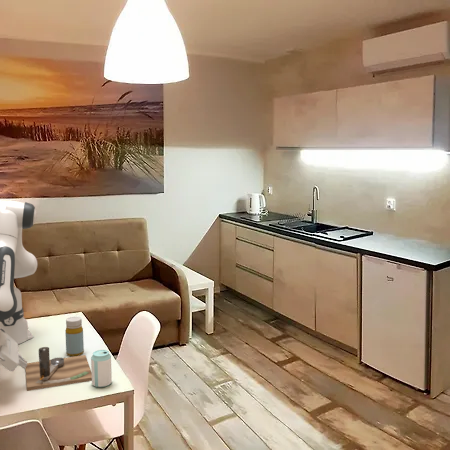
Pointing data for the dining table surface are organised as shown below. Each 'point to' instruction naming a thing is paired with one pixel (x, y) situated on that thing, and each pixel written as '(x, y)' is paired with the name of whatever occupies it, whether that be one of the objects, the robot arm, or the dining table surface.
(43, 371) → the peg lever
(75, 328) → the bottle
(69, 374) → the tuner board
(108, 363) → the can
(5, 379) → the dining table surface
